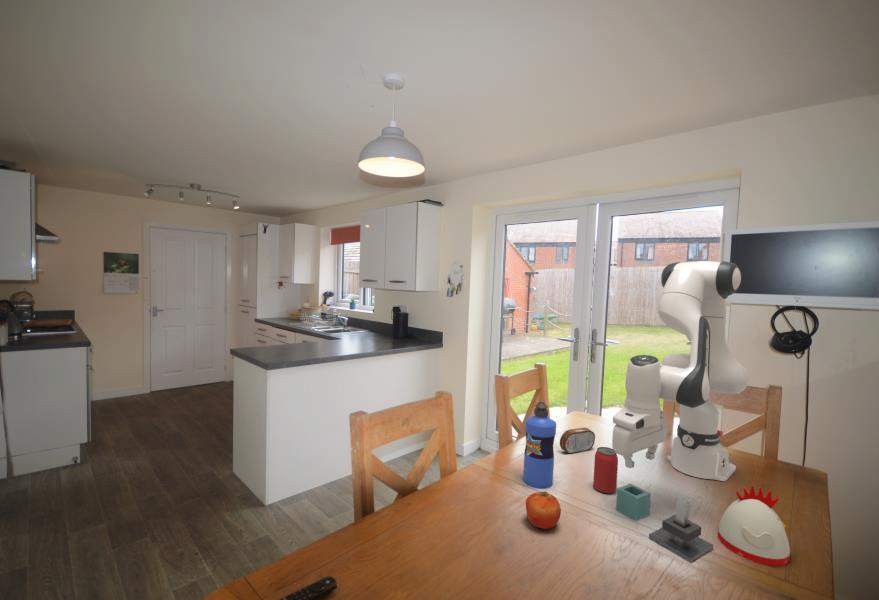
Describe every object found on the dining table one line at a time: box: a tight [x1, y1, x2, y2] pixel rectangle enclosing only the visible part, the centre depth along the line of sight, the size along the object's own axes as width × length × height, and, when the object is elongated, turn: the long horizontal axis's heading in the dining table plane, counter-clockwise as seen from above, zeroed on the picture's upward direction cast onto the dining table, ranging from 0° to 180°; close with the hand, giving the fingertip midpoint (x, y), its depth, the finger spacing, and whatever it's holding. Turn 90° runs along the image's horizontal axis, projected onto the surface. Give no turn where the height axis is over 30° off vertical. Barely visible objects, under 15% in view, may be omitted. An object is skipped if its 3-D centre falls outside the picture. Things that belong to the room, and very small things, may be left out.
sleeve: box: [615, 483, 652, 522], centre depth 113 cm, size 6×6×6 cm
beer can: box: [592, 446, 619, 494], centre depth 125 cm, size 7×7×12 cm
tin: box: [559, 427, 596, 454], centre depth 152 cm, size 15×3×8 cm, turn 114°
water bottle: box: [522, 401, 557, 490], centre depth 128 cm, size 9×9×25 cm
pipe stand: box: [648, 496, 714, 563], centre depth 100 cm, size 10×10×11 cm
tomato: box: [525, 490, 562, 530], centre depth 106 cm, size 9×9×8 cm
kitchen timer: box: [717, 484, 791, 567], centre depth 99 cm, size 14×14×15 cm
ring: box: [661, 513, 702, 542], centre depth 100 cm, size 6×6×2 cm
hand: (640, 462), depth 115 cm, fingers open, 8 cm apart
